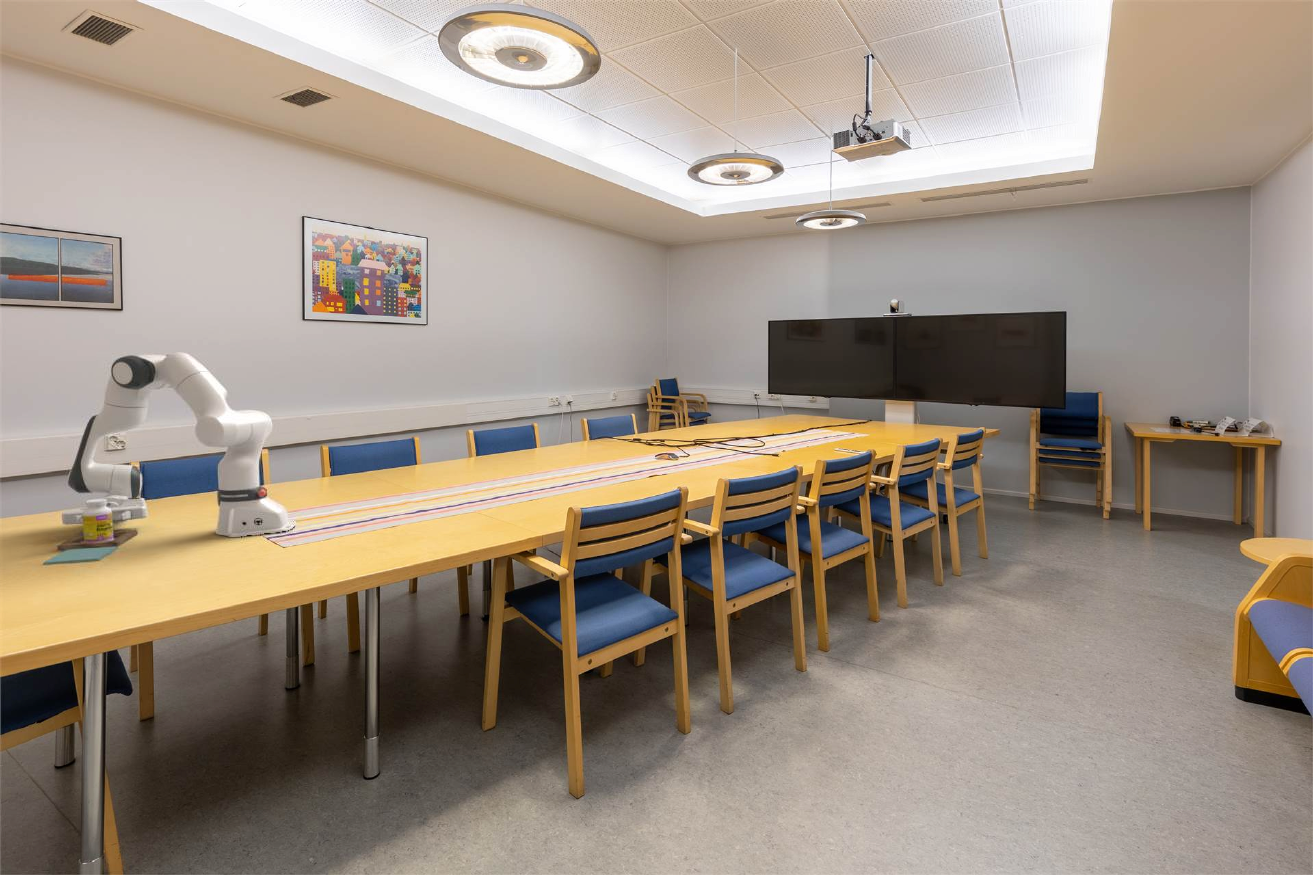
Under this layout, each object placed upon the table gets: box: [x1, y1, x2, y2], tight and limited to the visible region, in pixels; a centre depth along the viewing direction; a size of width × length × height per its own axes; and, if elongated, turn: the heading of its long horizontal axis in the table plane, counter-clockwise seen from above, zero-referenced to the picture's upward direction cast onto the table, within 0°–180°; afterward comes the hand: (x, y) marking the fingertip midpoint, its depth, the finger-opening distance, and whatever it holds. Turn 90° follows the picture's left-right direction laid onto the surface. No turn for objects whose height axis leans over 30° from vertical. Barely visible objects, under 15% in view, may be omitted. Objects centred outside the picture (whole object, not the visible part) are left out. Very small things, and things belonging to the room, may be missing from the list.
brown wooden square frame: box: [56, 529, 139, 552], centre depth 191 cm, size 14×14×2 cm
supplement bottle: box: [82, 498, 114, 542], centre depth 190 cm, size 7×7×13 cm
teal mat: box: [42, 546, 120, 565], centre depth 178 cm, size 12×12×1 cm
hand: (100, 519), depth 192 cm, fingers open, 8 cm apart
